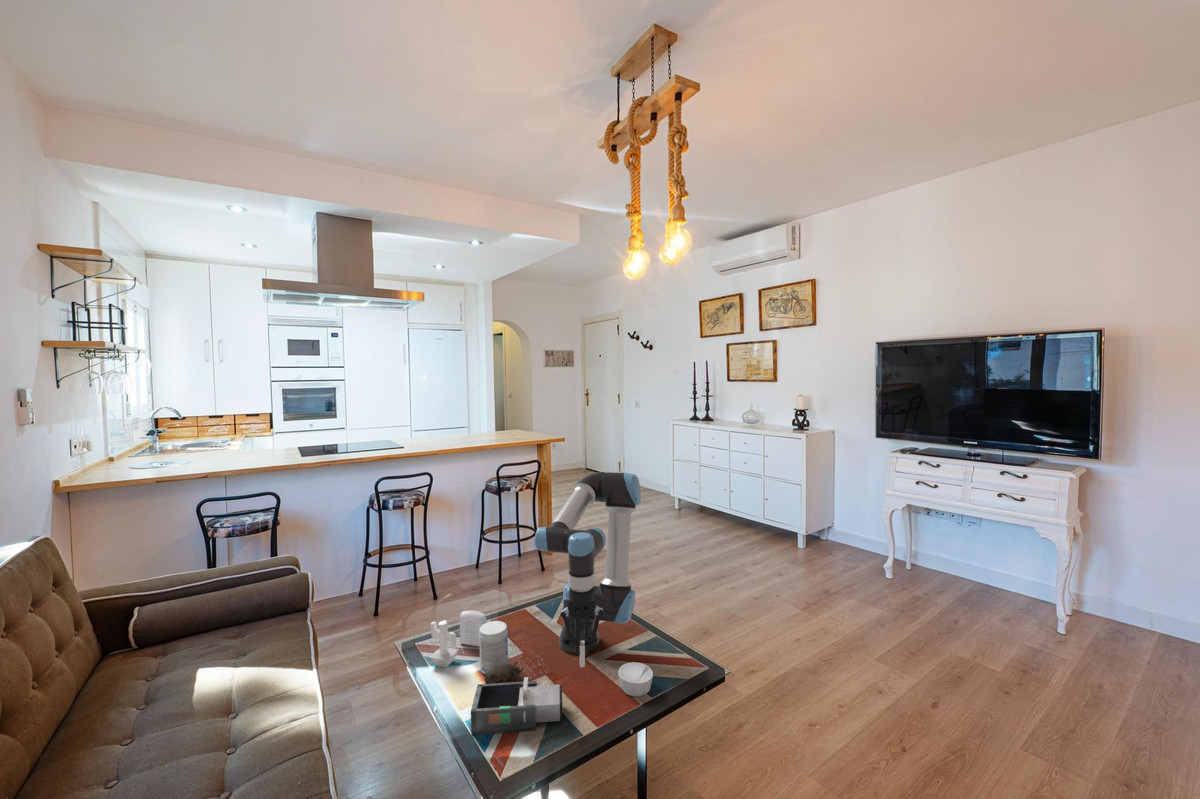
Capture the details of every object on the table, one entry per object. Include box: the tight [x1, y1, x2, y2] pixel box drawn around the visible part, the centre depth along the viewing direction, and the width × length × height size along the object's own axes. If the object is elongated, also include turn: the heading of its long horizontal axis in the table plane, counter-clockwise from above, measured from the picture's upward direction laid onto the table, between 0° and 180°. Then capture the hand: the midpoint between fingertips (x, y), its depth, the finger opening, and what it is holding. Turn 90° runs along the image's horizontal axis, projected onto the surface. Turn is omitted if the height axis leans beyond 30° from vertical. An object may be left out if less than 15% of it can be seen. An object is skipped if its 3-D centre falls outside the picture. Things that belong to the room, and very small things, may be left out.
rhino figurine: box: [484, 661, 524, 684], centre depth 162 cm, size 4×14×6 cm, turn 117°
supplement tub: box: [479, 620, 509, 675], centre depth 169 cm, size 10×10×15 cm
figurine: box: [428, 619, 460, 669], centre depth 173 cm, size 7×9×15 cm
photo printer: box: [459, 610, 487, 647], centre depth 185 cm, size 10×4×12 cm, turn 76°
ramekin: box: [617, 661, 654, 697], centre depth 159 cm, size 11×11×5 cm
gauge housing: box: [470, 680, 538, 736], centre depth 145 cm, size 18×12×7 cm
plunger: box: [518, 676, 564, 723], centre depth 146 cm, size 13×9×9 cm
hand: (582, 664), depth 146 cm, fingers closed
